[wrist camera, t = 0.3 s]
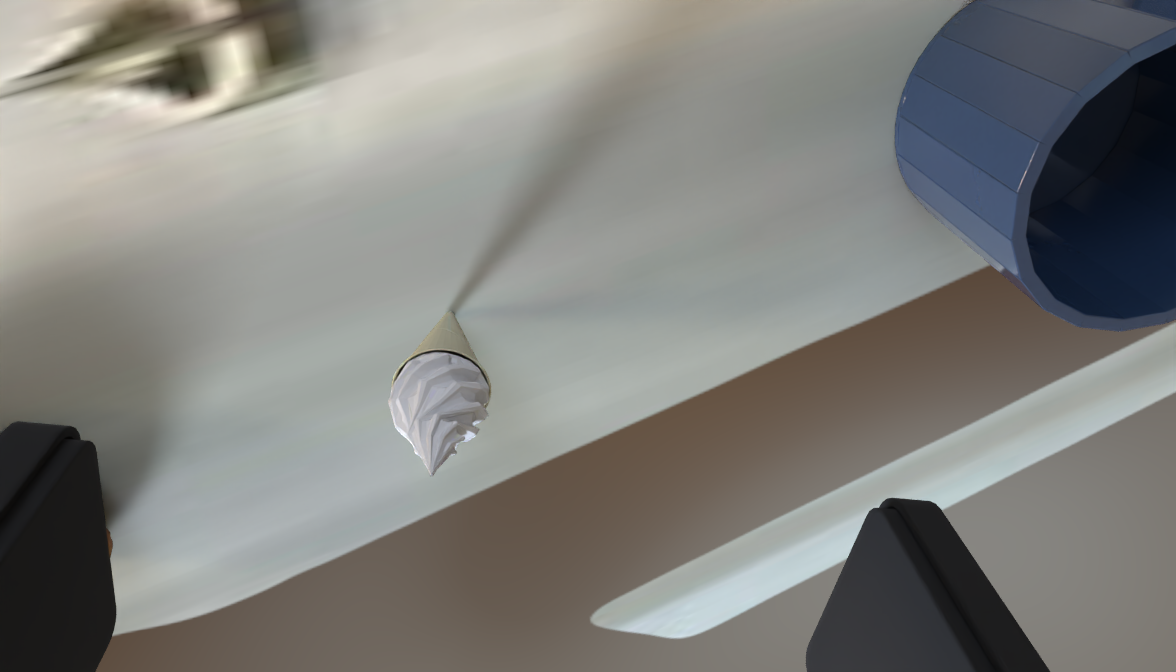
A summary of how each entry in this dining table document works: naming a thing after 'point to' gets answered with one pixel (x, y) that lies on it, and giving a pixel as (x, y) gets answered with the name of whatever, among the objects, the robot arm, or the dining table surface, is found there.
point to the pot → (1054, 150)
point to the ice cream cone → (440, 394)
